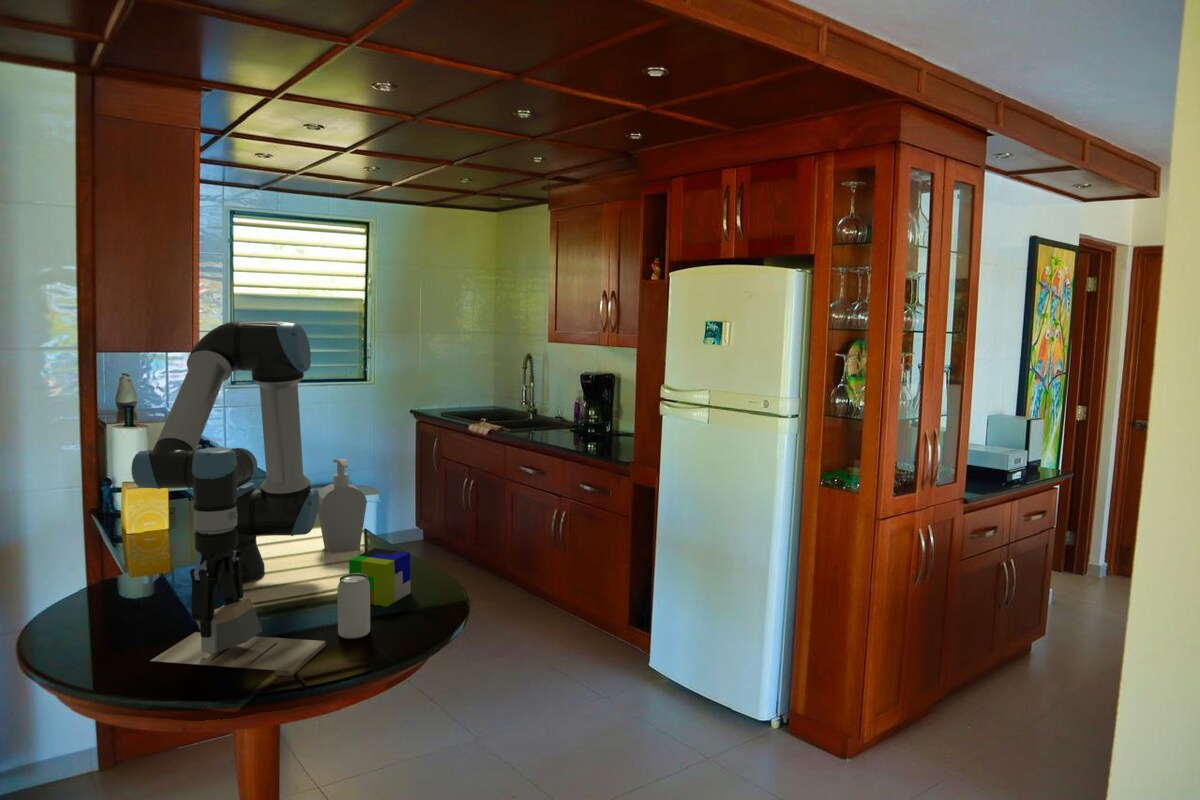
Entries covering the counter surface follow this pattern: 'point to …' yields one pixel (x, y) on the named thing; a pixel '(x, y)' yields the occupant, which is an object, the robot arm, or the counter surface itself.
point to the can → (353, 606)
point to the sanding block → (235, 624)
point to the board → (247, 654)
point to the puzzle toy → (384, 574)
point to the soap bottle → (341, 512)
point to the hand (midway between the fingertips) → (219, 644)
